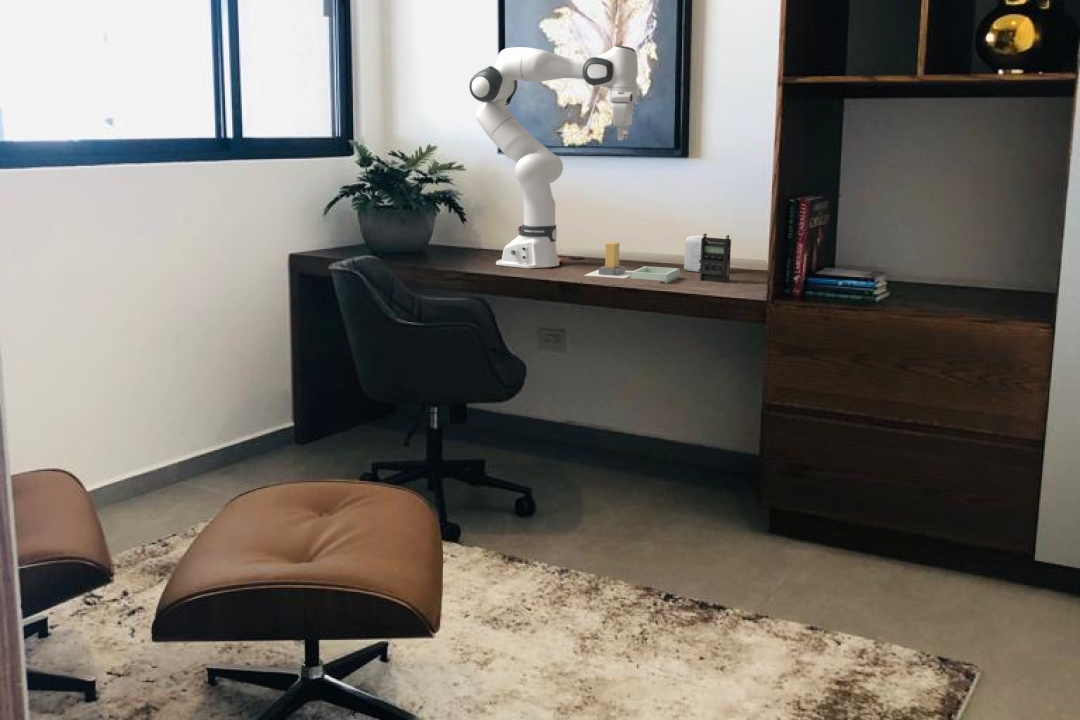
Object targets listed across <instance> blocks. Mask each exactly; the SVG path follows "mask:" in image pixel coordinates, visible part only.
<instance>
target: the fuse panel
mask: <svg viewBox="0 0 1080 720" xmlns="http://www.w3.org/2000/svg"><path fill="white" fill-rule="evenodd" d="M632 271H633V270H626V266H623V265H619V267H618V268H616V269H607V268H605V265H603V266H601V267H599V268H598V269H596V270H593V271H591V272H589V273H586V274H583V276H586V277H600V278H615V279H626V278H628V277H631V272H632Z"/></svg>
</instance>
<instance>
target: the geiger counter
mask: <svg viewBox="0 0 1080 720" xmlns="http://www.w3.org/2000/svg"><path fill="white" fill-rule="evenodd" d="M702 235H703V238H701V260H699V263H700V268H699V271H700V272H699V280H700V281H705V282H715V283H722V284H725V283H729V282H730V273H731V272H730V271H731V270H730V268H731V248H732V239H731V238H730V235H729V234H727V235H726V236H725V238H721V237H720V238H718V237H717V238H716V237H710V238H708V237H709V236H707V233H704V234H702ZM706 236H707V237H706Z"/></svg>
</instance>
